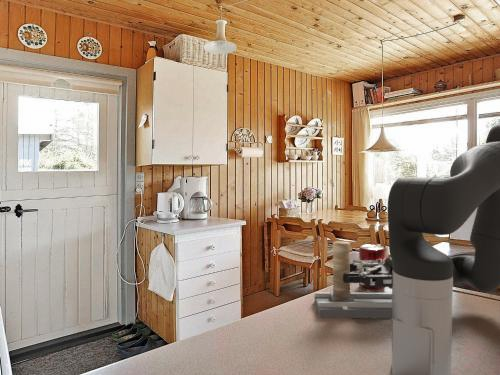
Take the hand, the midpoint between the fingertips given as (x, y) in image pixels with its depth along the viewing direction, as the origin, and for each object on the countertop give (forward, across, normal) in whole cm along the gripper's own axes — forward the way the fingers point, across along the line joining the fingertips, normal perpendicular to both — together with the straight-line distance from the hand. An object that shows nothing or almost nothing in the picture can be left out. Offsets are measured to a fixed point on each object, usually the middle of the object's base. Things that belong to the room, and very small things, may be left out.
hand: (339, 272), depth 89 cm
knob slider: (0, 0, +7) cm, 7 cm away
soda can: (-12, -16, +10) cm, 22 cm away
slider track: (-6, 0, +9) cm, 11 cm away
